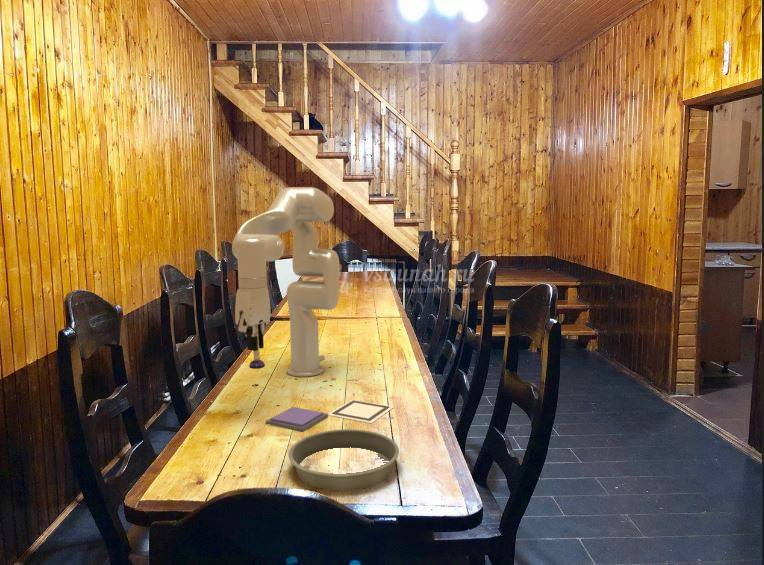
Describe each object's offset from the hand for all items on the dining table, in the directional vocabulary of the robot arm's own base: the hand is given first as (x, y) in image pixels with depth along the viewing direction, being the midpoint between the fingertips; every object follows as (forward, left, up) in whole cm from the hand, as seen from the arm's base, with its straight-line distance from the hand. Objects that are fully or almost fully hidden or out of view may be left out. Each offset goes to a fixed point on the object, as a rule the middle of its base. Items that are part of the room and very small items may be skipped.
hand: (255, 348), depth 168 cm
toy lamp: (0, 0, -5) cm, 5 cm away
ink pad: (0, +13, -19) cm, 23 cm away
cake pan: (+19, +39, -19) cm, 47 cm away
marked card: (-14, +25, -19) cm, 34 cm away
